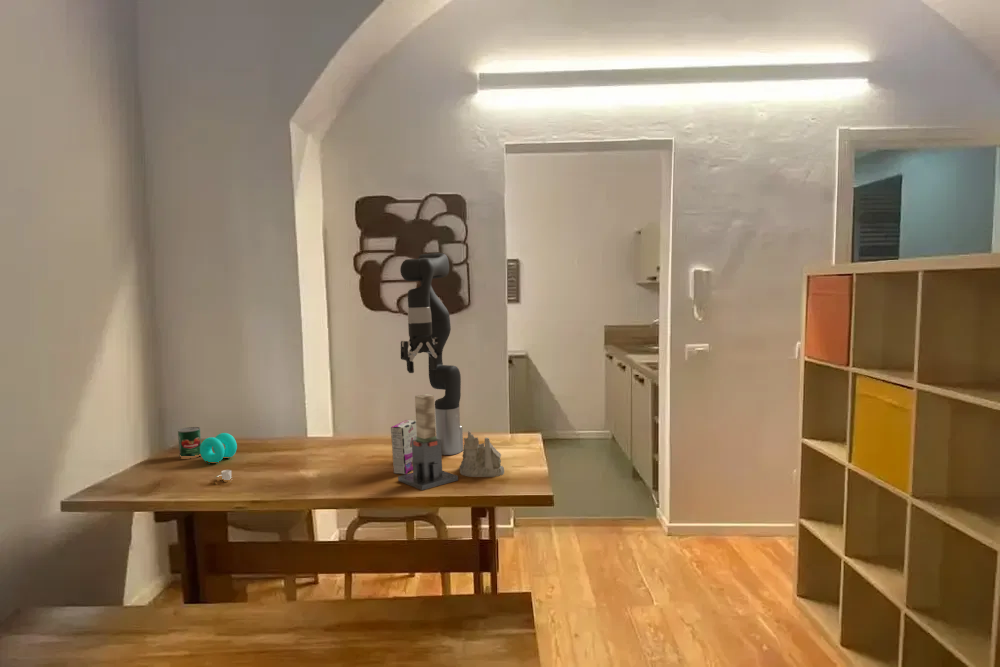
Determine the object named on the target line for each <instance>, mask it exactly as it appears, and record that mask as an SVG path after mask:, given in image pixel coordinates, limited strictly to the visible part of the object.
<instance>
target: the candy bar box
mask: <svg viewBox="0 0 1000 667" xmlns="http://www.w3.org/2000/svg"><path fill="white" fill-rule="evenodd" d="M390 434H391V446H392V448H391V449H392V451H391V453H392V467H393V474H396V475H406V474H410V472H413V456H412V440H415V439H416V437H417V431H416V419H414V420H413V419H411V420H410V419H405V420H404V421H402V422H399V423H397V424H395V425H393V426H391V427H390Z"/></svg>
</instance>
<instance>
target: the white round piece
mask: <svg viewBox="0 0 1000 667" xmlns="http://www.w3.org/2000/svg"><path fill="white" fill-rule="evenodd" d="M220 472H221V474H219V475H216V477H219V476H222V479H224V480H230V479H231V478H232V469H224V470H221V471H220ZM231 480H232V479H231Z"/></svg>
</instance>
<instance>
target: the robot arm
mask: <svg viewBox="0 0 1000 667" xmlns="http://www.w3.org/2000/svg"><path fill="white" fill-rule="evenodd" d="M449 262H450V261H449V258H448V256H447V254H445V253H443V252H433V253H423V254H419V256H418V258H409V259H405V260H403V261H402V262H401V265H400V268H399V269H400V275H401V277H402V278H403V280H404V281H407V282H420V286H419V287H416V288H412V289H409V290H408V291H407V307H408V308H407V309H408V310H407V326H408V329H407V330H408V337H409V340H408V341H407V340H401V341H400V359H401V360H403V361H406V370H407V372H408V373H409V374H414V372H415V368H414V367H415V366H414V365H415V364H414V359H415V357H416V356H417V355H418V354H421V353H426V354H427V355H428V379H429V383H430V386H431V387H432V388H433V389H435V390H445V391H444V395H443V397H440V398H437V399H436V400H434V409H435V433H436V439H440V440H441V453H442V456H443V455H444V456H451V455H457V454H460V453H461V452H463V449H464V438H463V437H464V436H463V435H464V433H463V426H462V425H461V416H460V413H461V412H460V401H461V394H462V393H461V389H462V388H461V386H462V385H461V384H462V383H461V382H462V380H461V379H462V377H461V372H460V368H458V366H456V365H452V364H451V365H449V364H444V363H443V351H444V347H445V345H446V344H447V341H448V339H449V336H450V335H451V329H452V328H451V318H450V313H449V310H448V309H447V307H446V306H445V304H444V303H443V302H442V301H441V299H440V298H439V297H438V295H437V293H436V292H435V290H434V288H433V286H432V281H433V280H434V279H442V278H445V277H447V276H448V275H449V273H450V263H449ZM409 347H410V348H409Z"/></svg>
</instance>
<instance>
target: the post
mask: <svg viewBox="0 0 1000 667" xmlns="http://www.w3.org/2000/svg"><path fill="white" fill-rule="evenodd" d="M414 406H415V407H414V408H415V420H416V431H417V437H416V440H417V441H420V442H423V443H426V442H430V441H435V440H436V419H435V396H434V395H432V394H427V393H425V394H420V395H415V396H414Z"/></svg>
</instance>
